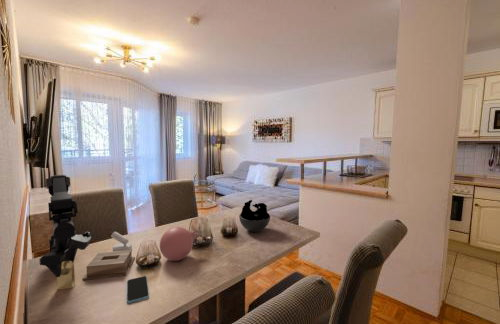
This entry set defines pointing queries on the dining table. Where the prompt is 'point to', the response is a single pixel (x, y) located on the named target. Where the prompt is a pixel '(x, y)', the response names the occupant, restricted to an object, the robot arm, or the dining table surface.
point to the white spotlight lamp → (124, 242)
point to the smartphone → (137, 289)
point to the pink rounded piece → (177, 243)
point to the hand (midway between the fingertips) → (65, 269)
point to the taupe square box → (109, 265)
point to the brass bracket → (66, 275)
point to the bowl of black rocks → (254, 217)
